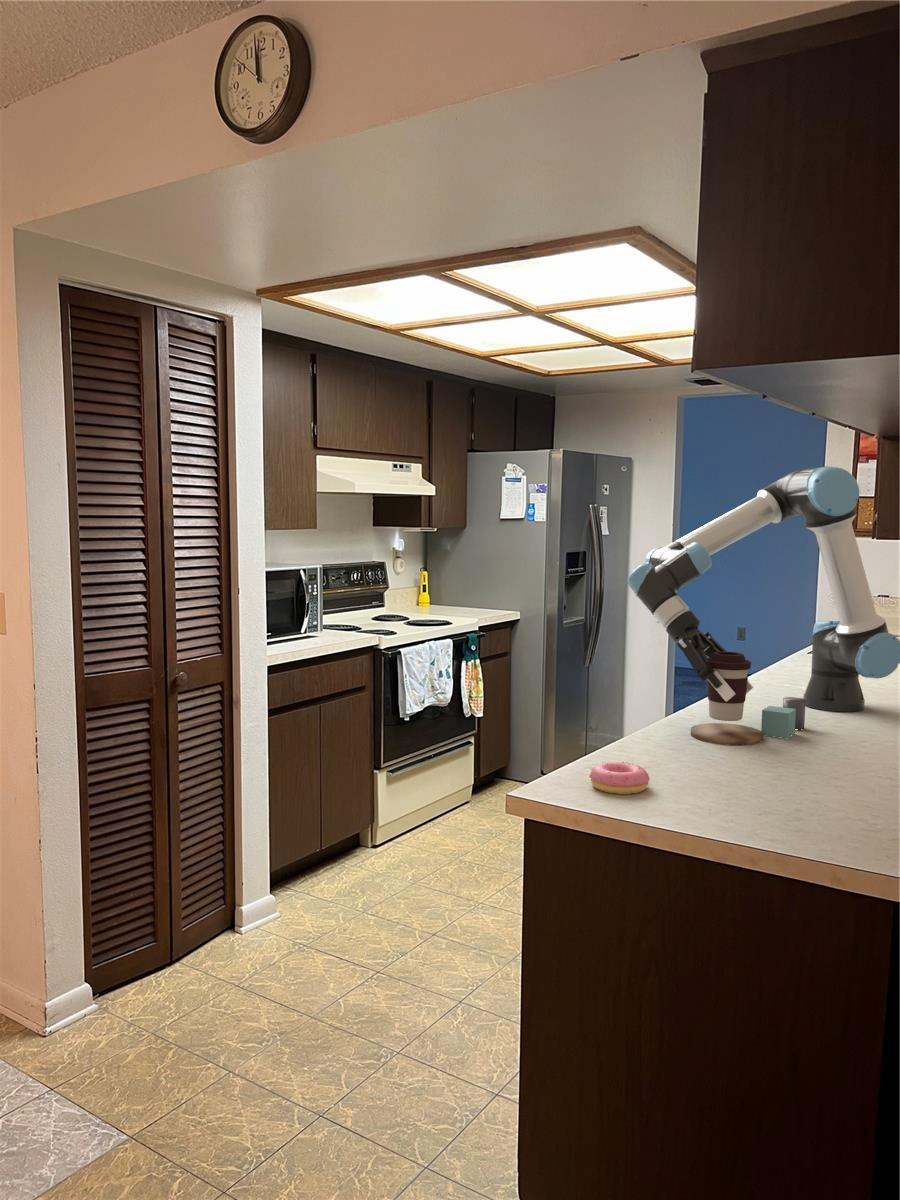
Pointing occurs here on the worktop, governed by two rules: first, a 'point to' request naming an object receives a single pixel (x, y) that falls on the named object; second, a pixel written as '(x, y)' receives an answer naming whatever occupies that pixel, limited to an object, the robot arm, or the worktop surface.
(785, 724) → the teal block
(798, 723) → the gray cylinder
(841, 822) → the worktop surface
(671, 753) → the worktop surface
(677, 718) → the worktop surface
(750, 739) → the walnut board
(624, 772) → the doughnut
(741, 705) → the coffee cup
